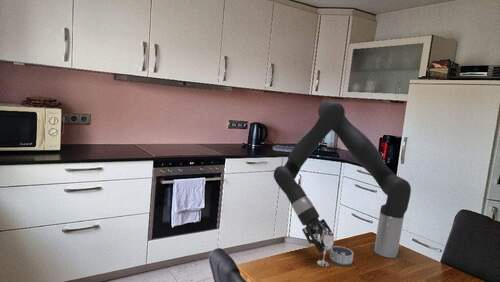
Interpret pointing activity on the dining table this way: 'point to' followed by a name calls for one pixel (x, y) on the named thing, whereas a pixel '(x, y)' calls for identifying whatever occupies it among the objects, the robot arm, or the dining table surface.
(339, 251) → the grey bowl
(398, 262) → the dining table surface
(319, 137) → the robot arm
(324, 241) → the wineglass
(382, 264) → the dining table surface
